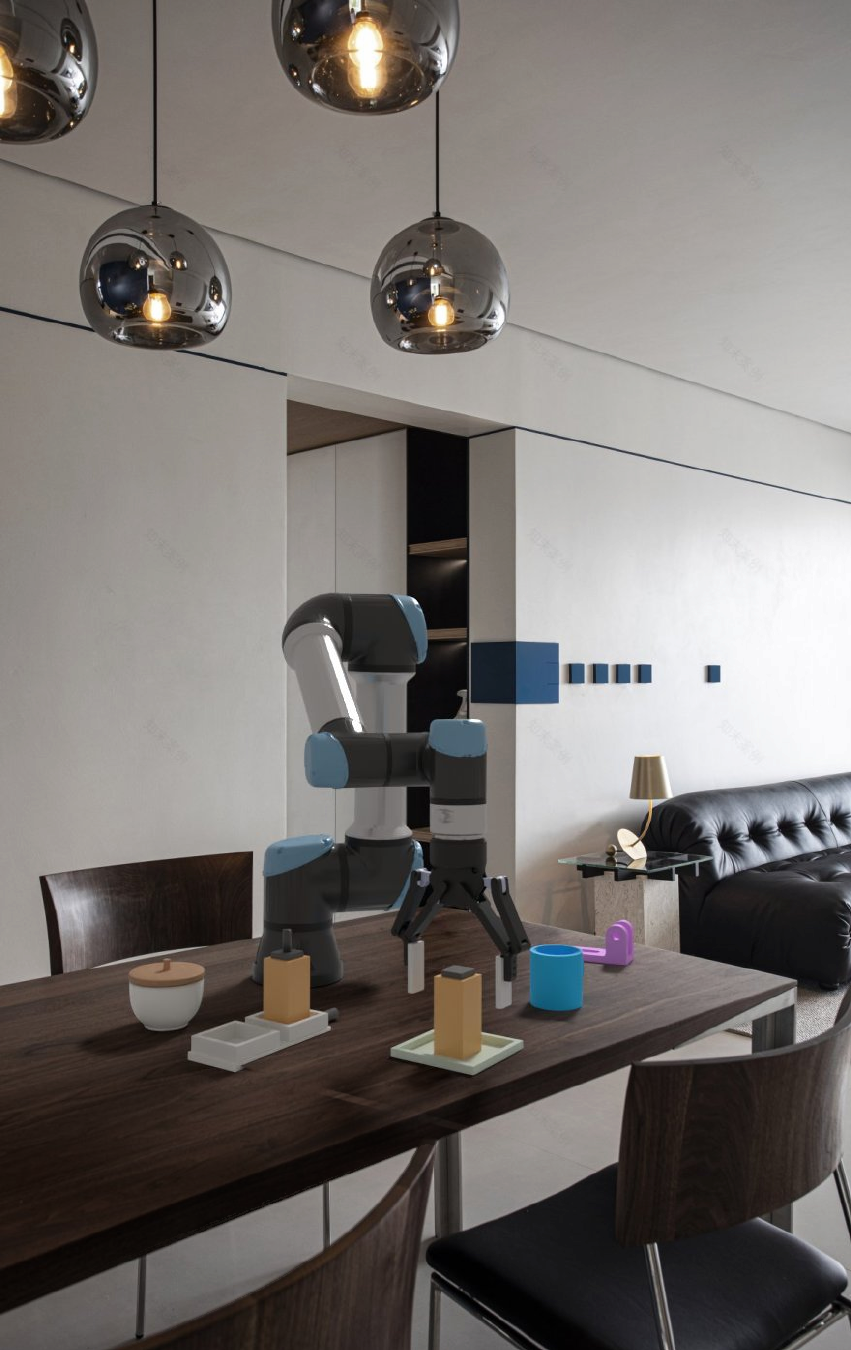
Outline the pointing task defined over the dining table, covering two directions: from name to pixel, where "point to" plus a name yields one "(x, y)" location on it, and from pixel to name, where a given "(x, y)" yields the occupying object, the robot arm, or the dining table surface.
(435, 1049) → the orange capped pillar
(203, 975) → the lidded jar
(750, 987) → the dining table surface
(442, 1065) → the tray
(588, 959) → the bracket
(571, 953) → the mug
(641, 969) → the dining table surface
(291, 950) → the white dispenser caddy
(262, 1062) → the dining table surface
